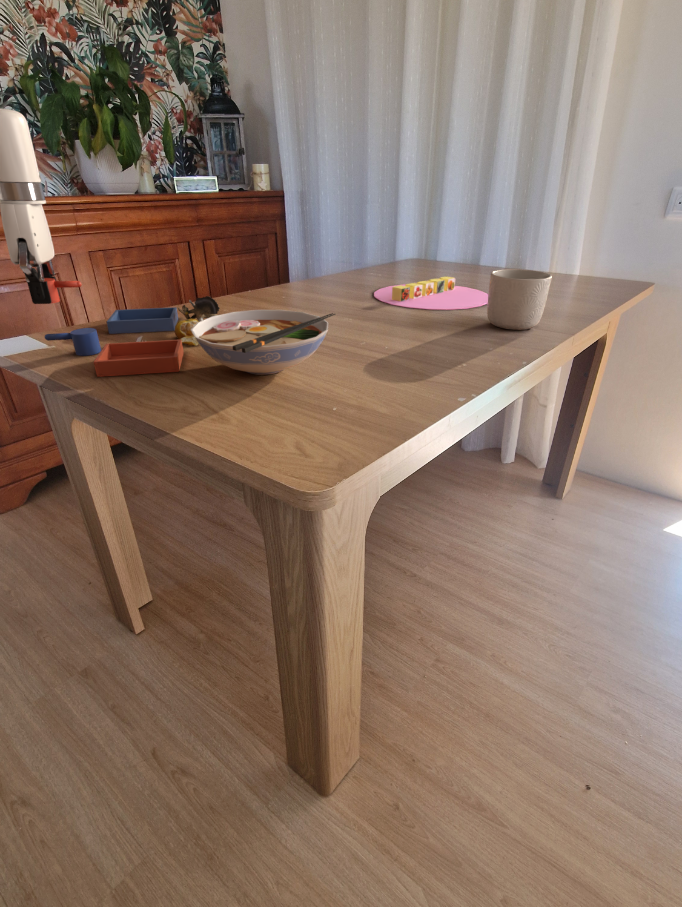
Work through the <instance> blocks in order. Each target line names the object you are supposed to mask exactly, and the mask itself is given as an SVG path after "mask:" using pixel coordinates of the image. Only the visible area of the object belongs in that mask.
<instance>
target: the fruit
mask: <svg viewBox="0 0 682 907" xmlns="http://www.w3.org/2000/svg"><path fill="white" fill-rule="evenodd" d="M197 322H199V321H198V320H197V318H195V319H184V320H183V319H182V320H178V321H177V324H176V326H175V330H174V331H173V332H174V335H175V337H176V340H182V345H188V346H194V347H195V346H198V345H200V344H199V343H198V341H197V339H196V338H195V336H194V335H193V333H192V331H191V329H192V328H193V327H194V326H195V325H196V324H197Z"/></svg>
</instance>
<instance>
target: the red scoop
mask: <svg viewBox="0 0 682 907" xmlns="http://www.w3.org/2000/svg"><path fill="white" fill-rule="evenodd" d="M44 281H47V284H48V288H49V292H50V296H51V300H52V303H50V304H57V303H60V301H61V299H60V297H59V295H60V293H59V294H58V290H59V289H60V288H61V289H63V288H64V289H66V288H67V289H68V288H71V289H72V288H81V287H82V285H83V284H82V282H81V281H79V280H56V281H55V279H53V278H44ZM57 288H58V290H57ZM50 304H49V305H50Z"/></svg>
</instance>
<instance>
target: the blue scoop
mask: <svg viewBox="0 0 682 907" xmlns="http://www.w3.org/2000/svg"><path fill="white" fill-rule="evenodd" d="M44 340H46V341H49V342H50V341H69V340H72V341H71V342H72V345H73V348H74V353H75V355H76V356H79V357H87V356H94V355H97V354H99V353H100V352H101V350H102V348H101V343H100V338H99V335H98V332H97V328H94V327H83V328H77V329H73V330H71V331H70V332H58V333H57V332H56V333H46V334H44Z"/></svg>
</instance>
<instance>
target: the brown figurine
mask: <svg viewBox="0 0 682 907" xmlns="http://www.w3.org/2000/svg"><path fill="white" fill-rule="evenodd" d="M188 302H189V304H190V305H191V306H192V309H189V307H187V306H186V304H183V305H182V306H181V308H180V307H179V306H177V311H179V312H180V313H181V314H182V315H183V316H184V317H185V320H187V319H196V320H198V321H199V322H200V321H202V320H204V319H207V318H210V317H212V316H216V315H219V312H220V310H221V308H220V306H219V304H218V302H217V301H216V299H214V298H212V297H211V296H208V295H206V296H203V297H197V298H196V300H195V301H194V302H193V301H192V300H191V299H188ZM190 314H193V315H191V316H190Z"/></svg>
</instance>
